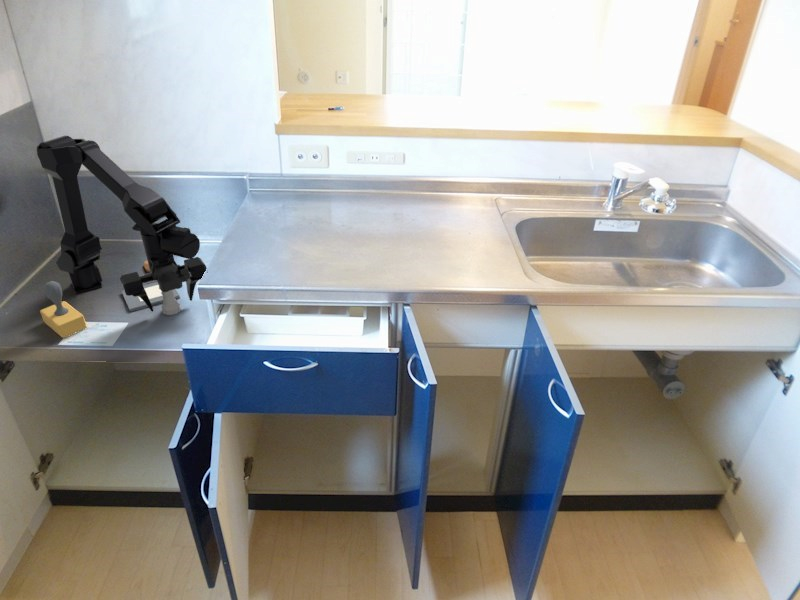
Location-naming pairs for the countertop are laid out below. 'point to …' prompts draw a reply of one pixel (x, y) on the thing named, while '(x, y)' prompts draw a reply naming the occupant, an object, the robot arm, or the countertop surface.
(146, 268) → the button
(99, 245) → the robot arm
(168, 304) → the rook chess piece
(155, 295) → the slate board
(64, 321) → the rubber stamp
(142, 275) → the button housing
